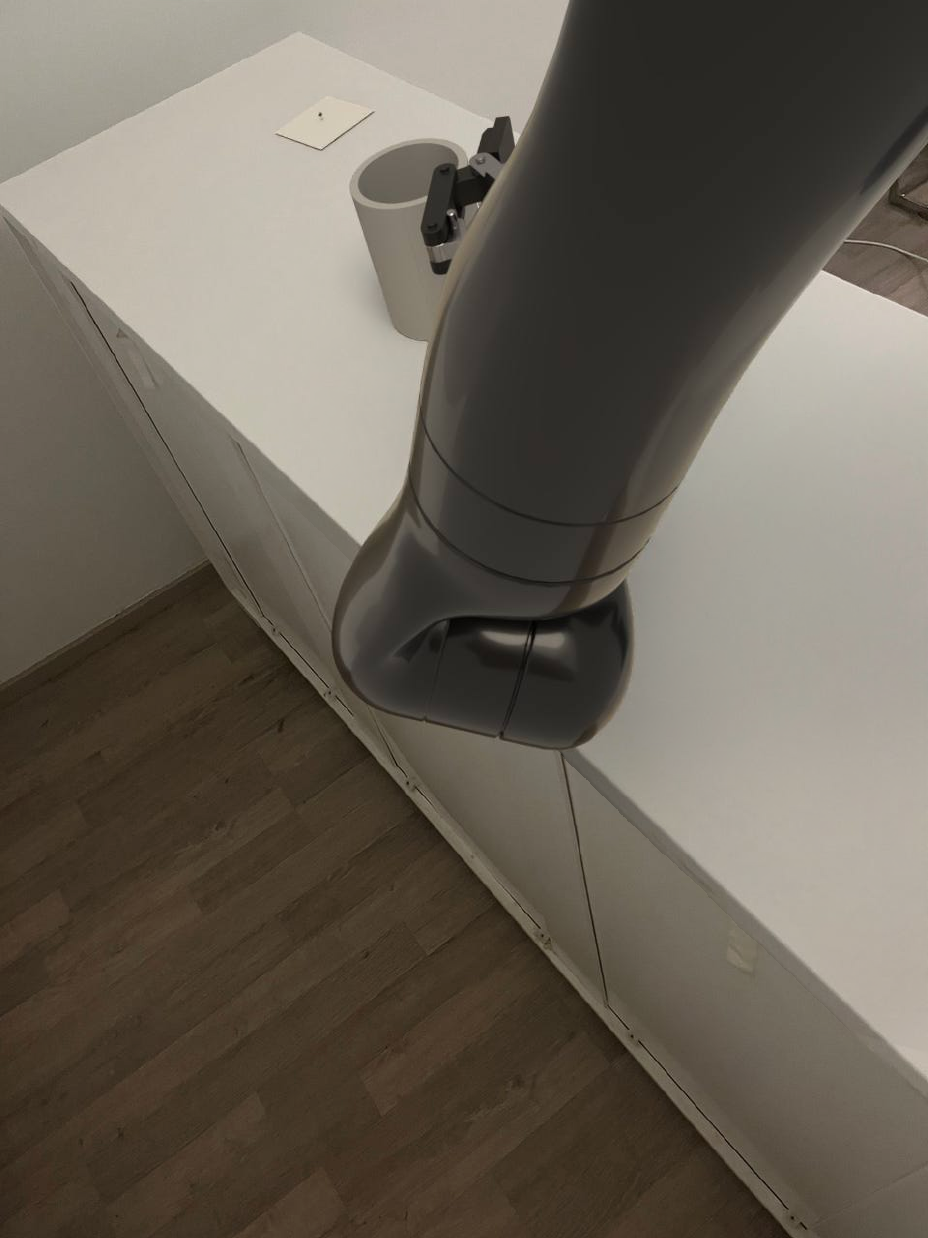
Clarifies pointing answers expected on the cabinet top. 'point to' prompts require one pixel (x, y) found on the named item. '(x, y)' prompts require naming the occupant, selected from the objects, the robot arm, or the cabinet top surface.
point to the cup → (403, 226)
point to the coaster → (324, 122)
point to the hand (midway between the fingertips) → (583, 123)
